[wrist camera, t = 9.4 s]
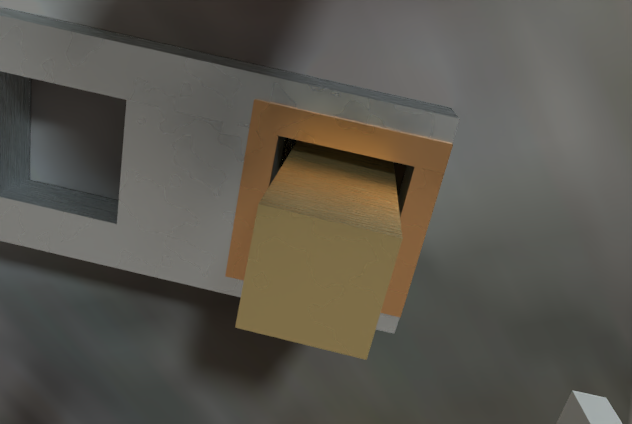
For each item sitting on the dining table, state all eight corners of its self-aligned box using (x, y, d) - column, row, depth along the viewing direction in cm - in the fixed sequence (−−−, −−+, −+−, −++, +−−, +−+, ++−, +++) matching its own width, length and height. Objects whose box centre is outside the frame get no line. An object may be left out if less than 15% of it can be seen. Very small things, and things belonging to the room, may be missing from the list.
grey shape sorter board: (5, 215, 27) (-32, 235, 25) (5, 8, 24) (-39, 7, 21) (392, 305, 27) (394, 336, 24) (451, 108, 23) (460, 119, 21)
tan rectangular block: (280, 226, 26) (235, 327, 18) (298, 139, 25) (258, 203, 16) (369, 247, 26) (366, 359, 18) (393, 161, 24) (402, 238, 16)
